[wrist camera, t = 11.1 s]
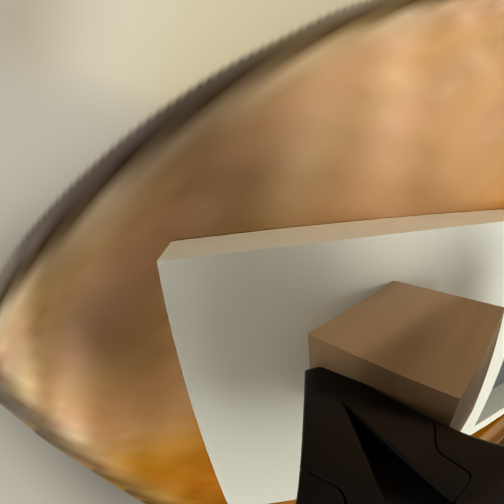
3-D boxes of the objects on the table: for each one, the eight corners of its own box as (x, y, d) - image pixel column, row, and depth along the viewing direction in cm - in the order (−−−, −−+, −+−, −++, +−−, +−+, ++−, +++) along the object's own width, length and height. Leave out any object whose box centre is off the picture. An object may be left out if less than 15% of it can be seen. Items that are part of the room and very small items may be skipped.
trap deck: (538, 361, 16) (553, 373, 14) (227, 475, 14) (228, 507, 12) (572, 205, 12) (593, 211, 10) (171, 241, 11) (156, 261, 8)
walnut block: (385, 374, 10) (472, 410, 7) (311, 435, 8) (411, 498, 5) (393, 280, 9) (504, 307, 6) (307, 333, 7) (459, 398, 4)
